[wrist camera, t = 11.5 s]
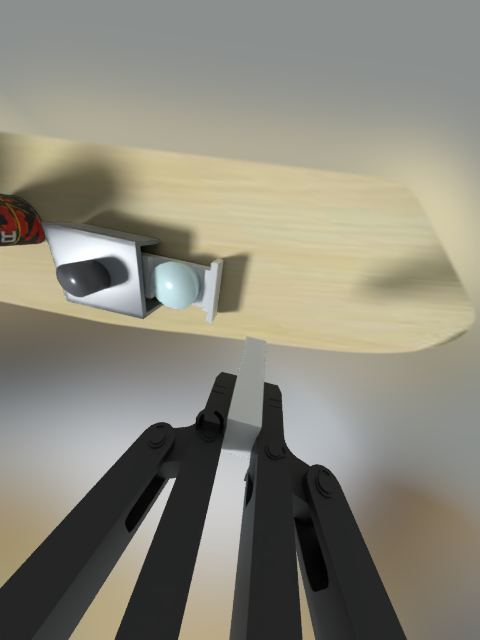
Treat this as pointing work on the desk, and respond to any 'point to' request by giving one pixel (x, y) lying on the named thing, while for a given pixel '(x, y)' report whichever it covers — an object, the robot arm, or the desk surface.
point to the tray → (207, 276)
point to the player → (100, 267)
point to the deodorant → (19, 222)
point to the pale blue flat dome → (175, 284)
